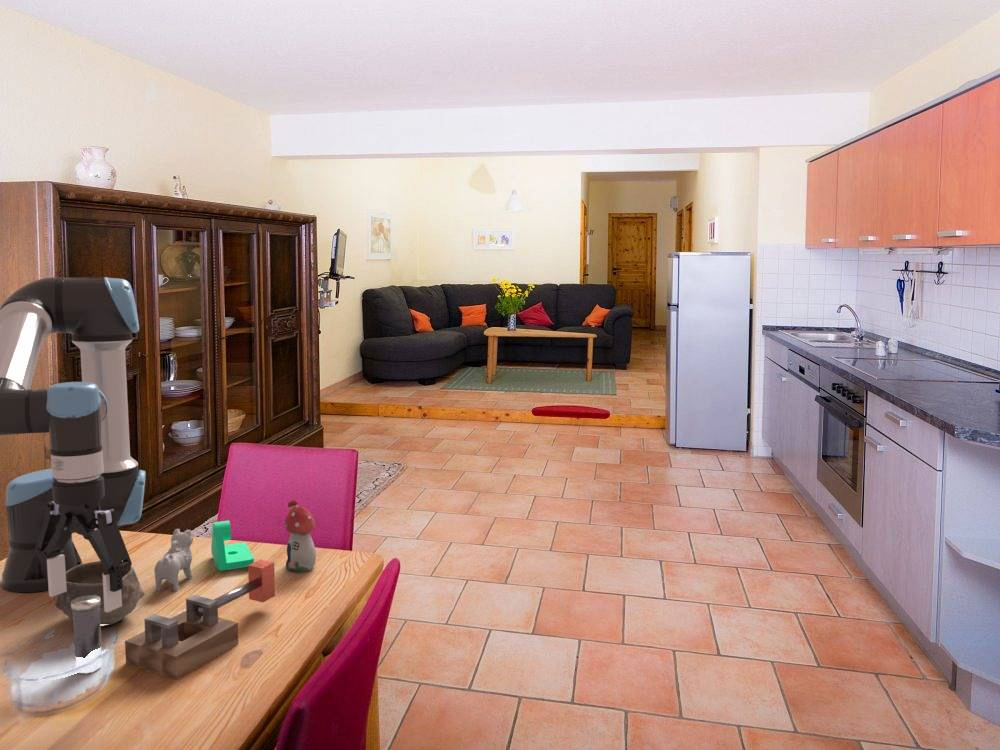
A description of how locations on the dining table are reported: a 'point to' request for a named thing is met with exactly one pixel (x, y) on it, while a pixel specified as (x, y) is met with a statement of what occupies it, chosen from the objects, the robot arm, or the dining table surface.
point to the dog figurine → (175, 560)
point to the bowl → (99, 590)
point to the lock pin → (252, 585)
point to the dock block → (182, 639)
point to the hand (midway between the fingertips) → (85, 601)
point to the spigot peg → (86, 624)
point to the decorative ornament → (300, 539)
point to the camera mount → (228, 549)
